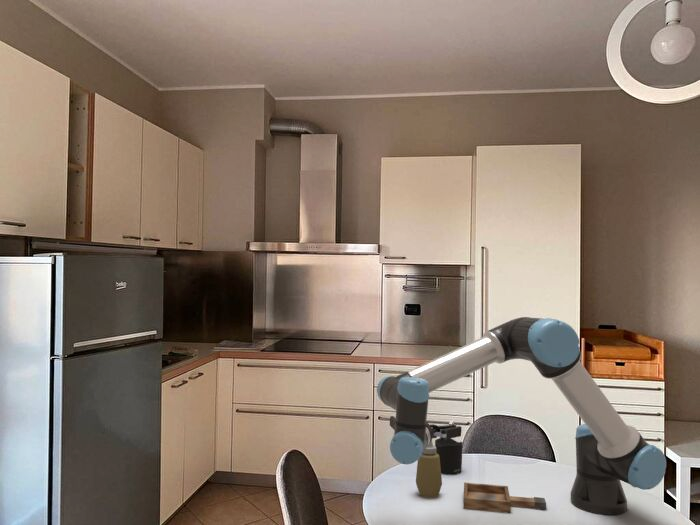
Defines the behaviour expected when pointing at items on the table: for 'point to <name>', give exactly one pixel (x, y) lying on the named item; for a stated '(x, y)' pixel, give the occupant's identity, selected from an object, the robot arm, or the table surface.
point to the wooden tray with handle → (497, 498)
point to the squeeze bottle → (429, 473)
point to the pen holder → (449, 455)
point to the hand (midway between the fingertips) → (429, 421)
